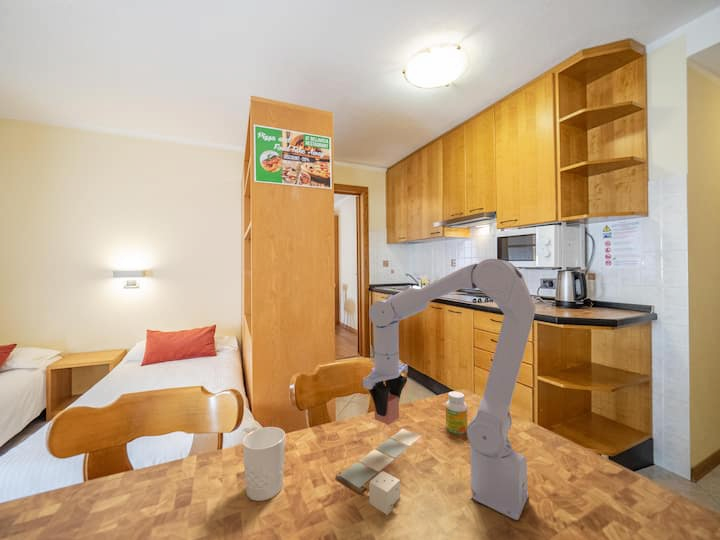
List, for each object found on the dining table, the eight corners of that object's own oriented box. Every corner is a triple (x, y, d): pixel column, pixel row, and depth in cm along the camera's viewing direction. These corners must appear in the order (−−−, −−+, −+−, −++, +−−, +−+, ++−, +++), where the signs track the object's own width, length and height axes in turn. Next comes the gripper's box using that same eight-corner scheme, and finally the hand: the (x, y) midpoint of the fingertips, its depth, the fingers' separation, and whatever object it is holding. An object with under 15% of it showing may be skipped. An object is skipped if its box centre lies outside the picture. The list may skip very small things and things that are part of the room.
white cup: (266, 470, 64) (266, 423, 64) (294, 483, 60) (293, 433, 60) (234, 494, 57) (233, 441, 57) (262, 510, 53) (262, 453, 53)
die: (400, 502, 54) (400, 479, 55) (387, 515, 51) (387, 492, 52) (382, 491, 57) (382, 470, 57) (369, 504, 54) (369, 481, 54)
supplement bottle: (445, 435, 76) (445, 397, 77) (446, 425, 82) (445, 389, 82) (468, 438, 75) (467, 399, 75) (467, 427, 80) (466, 391, 80)
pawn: (398, 418, 69) (398, 389, 69) (388, 424, 66) (388, 395, 66) (385, 413, 72) (384, 385, 72) (374, 419, 69) (374, 390, 69)
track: (424, 439, 74) (424, 436, 74) (361, 494, 56) (361, 490, 56) (400, 430, 79) (400, 427, 79) (335, 478, 61) (335, 474, 61)
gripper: (390, 343, 77) (391, 396, 77) (352, 355, 66) (353, 417, 66) (414, 348, 72) (415, 404, 72) (377, 361, 62) (378, 427, 61)
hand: (387, 411), depth 69 cm, fingers closed on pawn, 4 cm apart
